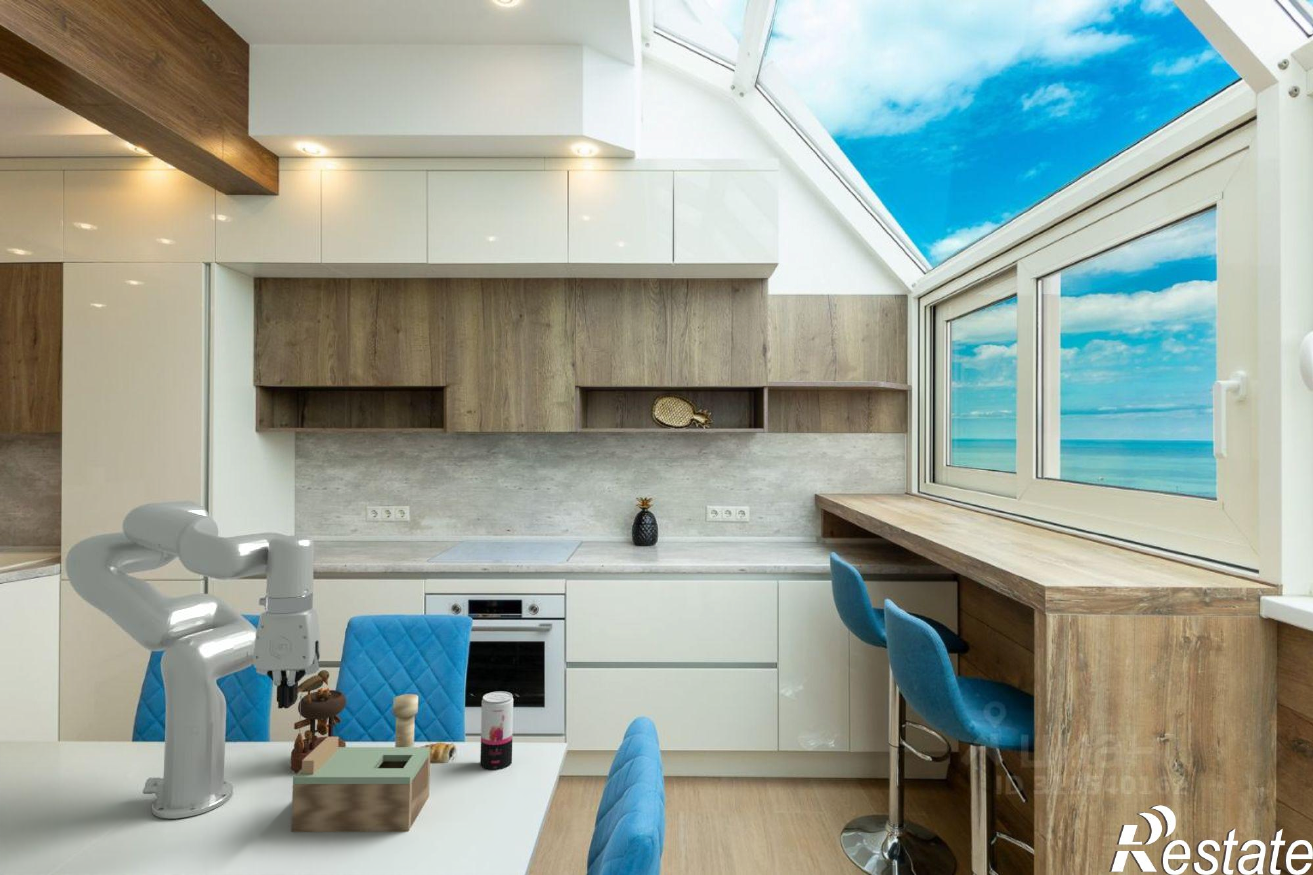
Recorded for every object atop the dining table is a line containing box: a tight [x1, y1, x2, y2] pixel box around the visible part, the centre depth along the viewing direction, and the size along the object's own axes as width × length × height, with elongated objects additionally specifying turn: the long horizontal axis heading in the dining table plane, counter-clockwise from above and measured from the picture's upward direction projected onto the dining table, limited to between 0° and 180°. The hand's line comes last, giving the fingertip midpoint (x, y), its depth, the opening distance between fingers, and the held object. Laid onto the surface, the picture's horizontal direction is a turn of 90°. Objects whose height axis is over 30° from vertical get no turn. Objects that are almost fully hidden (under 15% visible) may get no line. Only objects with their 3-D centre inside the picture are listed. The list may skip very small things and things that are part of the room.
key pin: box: [392, 693, 419, 747], centre depth 139 cm, size 5×5×16 cm
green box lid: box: [292, 736, 430, 785], centre depth 123 cm, size 20×12×4 cm, turn 92°
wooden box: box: [290, 755, 431, 833], centre depth 123 cm, size 20×12×9 cm, turn 92°
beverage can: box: [479, 690, 514, 771], centre depth 143 cm, size 6×6×15 cm
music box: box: [290, 669, 347, 774], centre depth 145 cm, size 15×11×20 cm
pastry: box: [421, 742, 458, 764], centre depth 146 cm, size 9×7×4 cm
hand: (287, 705), depth 122 cm, fingers closed
